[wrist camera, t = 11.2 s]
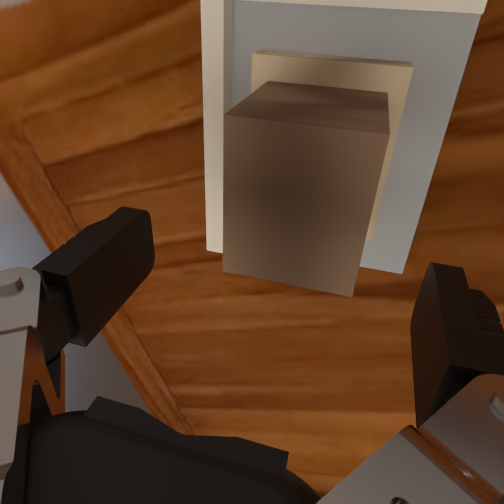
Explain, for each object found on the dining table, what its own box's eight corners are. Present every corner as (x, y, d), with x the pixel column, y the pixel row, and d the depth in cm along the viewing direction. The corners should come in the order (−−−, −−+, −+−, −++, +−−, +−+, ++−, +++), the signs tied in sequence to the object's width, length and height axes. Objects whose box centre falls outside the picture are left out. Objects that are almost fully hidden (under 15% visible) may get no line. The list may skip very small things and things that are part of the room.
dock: (472, -6, 18) (494, -5, 14) (400, 246, 25) (402, 287, 21) (231, -17, 20) (200, -19, 16) (229, 217, 27) (206, 250, 23)
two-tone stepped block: (411, 62, 17) (427, 100, 11) (371, 227, 21) (367, 321, 15) (261, 49, 18) (199, 77, 12) (252, 208, 23) (205, 287, 16)
